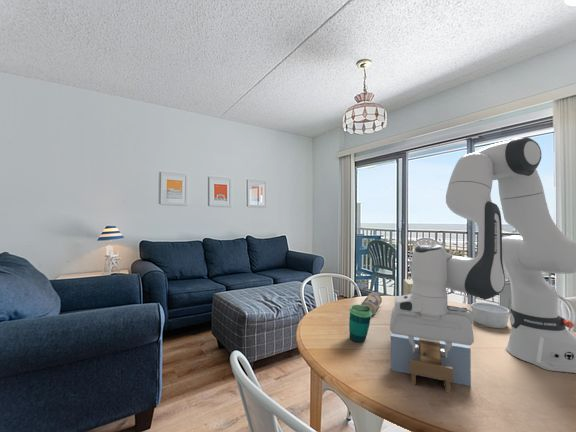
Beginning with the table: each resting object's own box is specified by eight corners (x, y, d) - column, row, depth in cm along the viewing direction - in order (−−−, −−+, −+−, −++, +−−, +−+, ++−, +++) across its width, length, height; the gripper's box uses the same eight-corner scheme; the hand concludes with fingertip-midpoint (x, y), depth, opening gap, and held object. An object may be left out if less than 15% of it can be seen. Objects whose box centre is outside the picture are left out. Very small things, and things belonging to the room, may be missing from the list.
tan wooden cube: (439, 366, 74) (439, 340, 74) (441, 373, 71) (441, 346, 71) (419, 362, 76) (419, 337, 76) (420, 369, 73) (420, 343, 73)
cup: (354, 333, 105) (354, 302, 105) (375, 338, 100) (374, 306, 100) (345, 341, 98) (345, 308, 99) (367, 347, 94) (367, 312, 94)
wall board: (469, 382, 73) (468, 345, 74) (476, 399, 66) (476, 358, 66) (390, 366, 81) (390, 333, 81) (389, 380, 74) (389, 344, 74)
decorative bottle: (367, 303, 143) (367, 291, 143) (382, 306, 139) (382, 293, 139) (354, 319, 120) (354, 304, 120) (372, 322, 116) (372, 307, 116)
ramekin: (515, 331, 107) (515, 314, 107) (477, 327, 111) (476, 310, 111) (501, 319, 119) (501, 304, 120) (467, 316, 124) (467, 301, 124)
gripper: (470, 304, 73) (471, 356, 73) (390, 296, 81) (390, 342, 81) (477, 312, 67) (477, 368, 67) (389, 302, 75) (389, 352, 75)
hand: (429, 354), depth 74 cm, fingers open, 5 cm apart
